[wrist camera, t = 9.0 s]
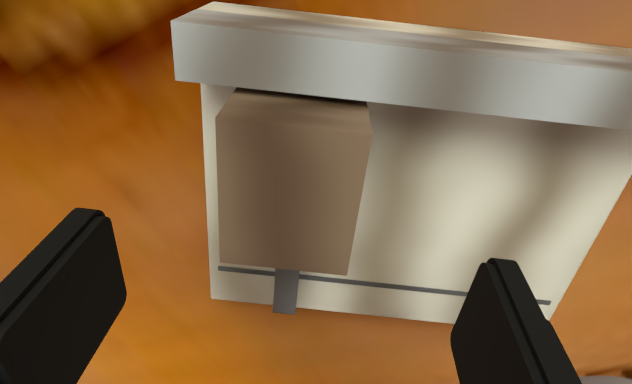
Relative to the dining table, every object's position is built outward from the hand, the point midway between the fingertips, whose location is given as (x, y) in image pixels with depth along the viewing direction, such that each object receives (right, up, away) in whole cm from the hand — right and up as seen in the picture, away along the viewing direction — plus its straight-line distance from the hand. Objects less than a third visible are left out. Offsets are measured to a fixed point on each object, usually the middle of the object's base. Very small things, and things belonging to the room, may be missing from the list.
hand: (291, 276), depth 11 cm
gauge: (0, +2, +10) cm, 10 cm away
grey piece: (+5, +3, +12) cm, 13 cm away
